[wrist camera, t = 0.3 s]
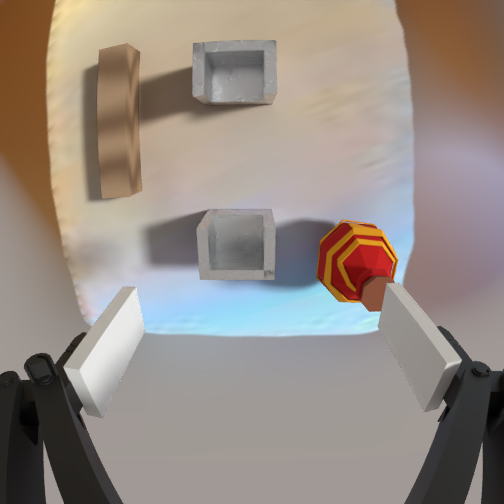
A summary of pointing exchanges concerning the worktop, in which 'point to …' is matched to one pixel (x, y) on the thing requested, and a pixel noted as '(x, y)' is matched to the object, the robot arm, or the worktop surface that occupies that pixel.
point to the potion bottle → (356, 263)
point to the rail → (118, 121)
